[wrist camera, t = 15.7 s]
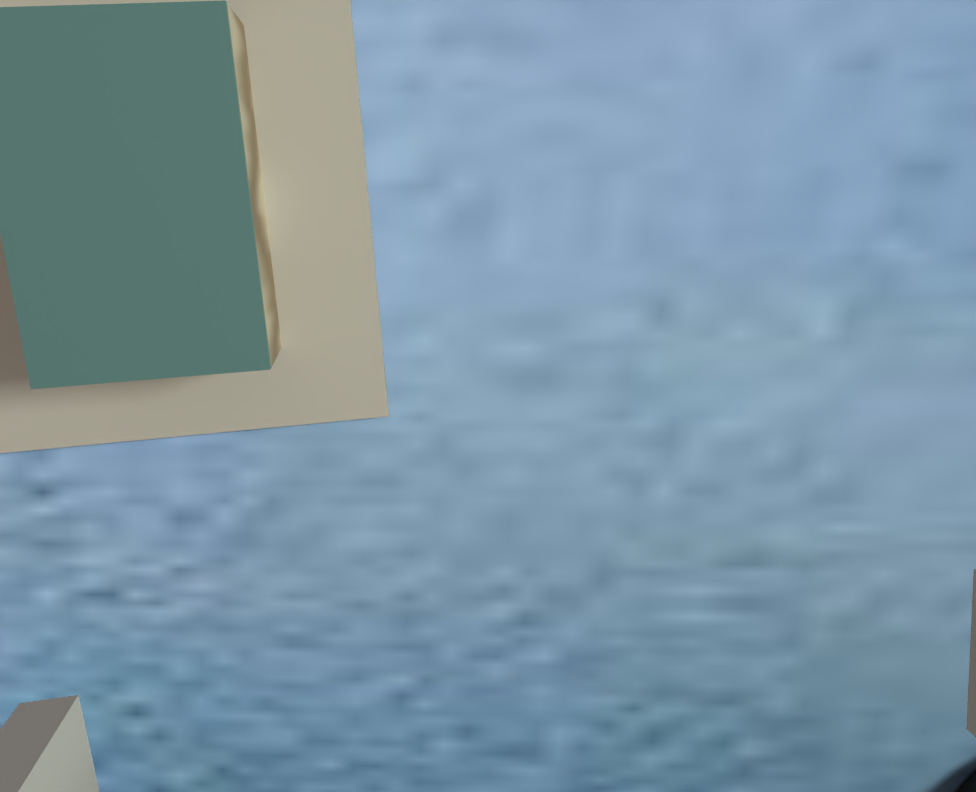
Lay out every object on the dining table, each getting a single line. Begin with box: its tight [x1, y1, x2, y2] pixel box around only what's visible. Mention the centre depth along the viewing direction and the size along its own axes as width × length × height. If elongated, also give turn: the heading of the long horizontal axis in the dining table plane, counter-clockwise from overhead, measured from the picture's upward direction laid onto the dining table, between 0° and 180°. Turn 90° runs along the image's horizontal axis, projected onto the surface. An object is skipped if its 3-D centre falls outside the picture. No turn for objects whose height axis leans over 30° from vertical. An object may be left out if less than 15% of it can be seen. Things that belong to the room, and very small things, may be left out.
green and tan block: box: [0, 0, 282, 389], centre depth 30 cm, size 4×8×12 cm
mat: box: [0, 0, 389, 453], centre depth 32 cm, size 18×16×1 cm
